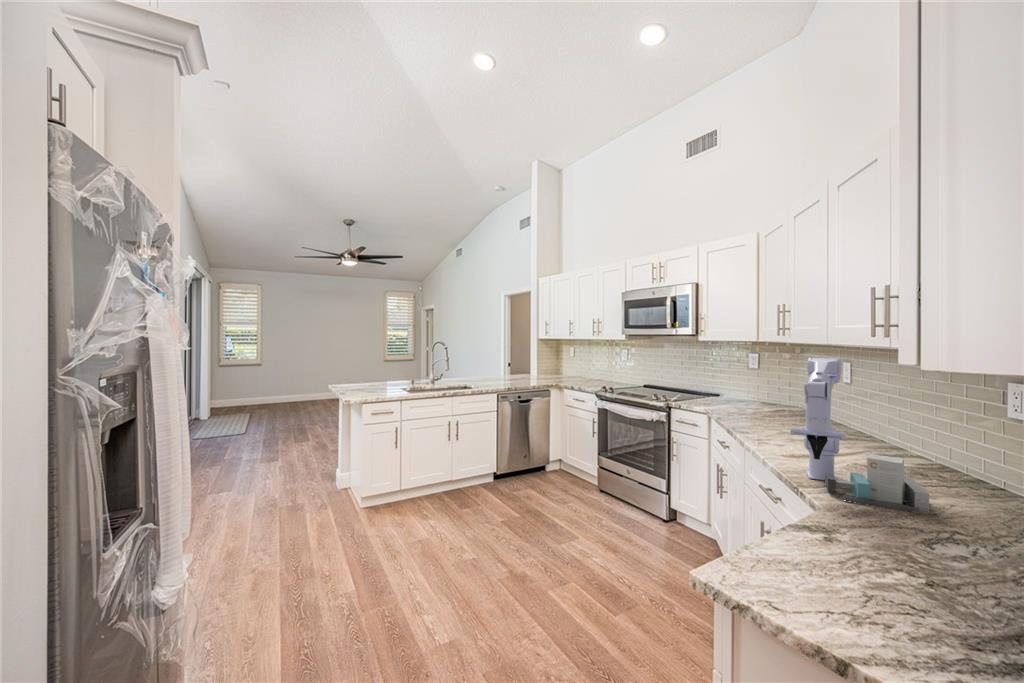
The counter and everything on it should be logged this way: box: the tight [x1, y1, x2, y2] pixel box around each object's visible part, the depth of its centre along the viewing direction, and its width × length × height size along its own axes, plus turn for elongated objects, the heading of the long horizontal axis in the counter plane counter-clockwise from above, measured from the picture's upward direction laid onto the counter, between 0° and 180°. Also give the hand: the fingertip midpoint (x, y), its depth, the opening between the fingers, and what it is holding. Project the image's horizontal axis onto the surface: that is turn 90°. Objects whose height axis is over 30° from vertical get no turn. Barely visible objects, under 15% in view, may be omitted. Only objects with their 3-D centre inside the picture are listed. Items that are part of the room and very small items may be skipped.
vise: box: [842, 476, 930, 515], centre depth 127 cm, size 15×19×6 cm
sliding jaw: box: [824, 472, 870, 499], centre depth 131 cm, size 11×10×6 cm
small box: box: [866, 453, 905, 504], centre depth 127 cm, size 8×6×13 cm
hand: (816, 458), depth 135 cm, fingers closed
